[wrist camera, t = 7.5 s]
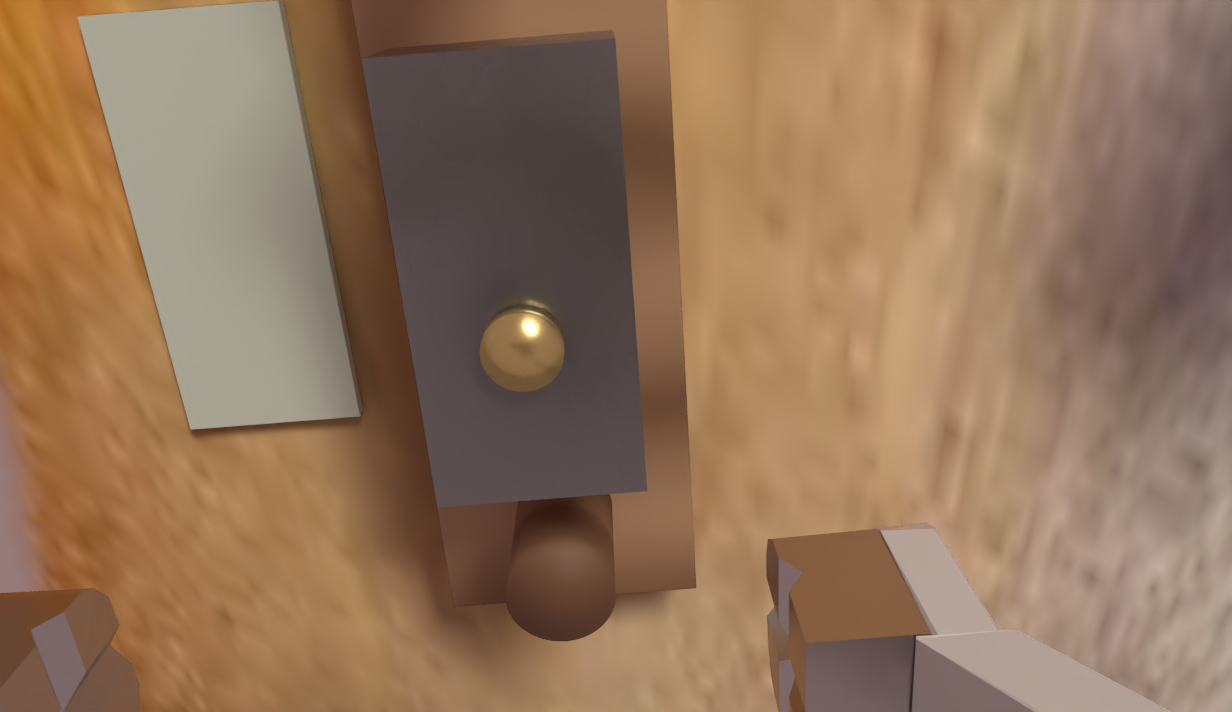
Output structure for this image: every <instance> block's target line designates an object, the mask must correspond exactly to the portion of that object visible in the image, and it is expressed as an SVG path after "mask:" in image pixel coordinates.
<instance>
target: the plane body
mask: <svg viewBox="0 0 1232 712" xmlns="http://www.w3.org/2000/svg"><path fill="white" fill-rule="evenodd" d="M351 4H352V9H353V15H354V21H355V27H356V33H357V39H358V45H359V51H360V57H361V63H362V58H364V57H367V56H370V55H372V54H375V53H377V52H380V51H383V50H385V49H388V48H395V47H408V46H420V45H433V44H445V43H458V42H470V41H483V40H495V39H508V38H520V37H532V36H545V35H557V34H570V33H582V32H595V31H607V30H613V33H614V36H615V41H616V55H617V70H618V84H619V98H620V112H621V126H622V140H623V154H624V168H625V182H626V196H627V210H628V224H629V238H630V252H631V266H632V281H633V295H634V309H635V323H636V337H637V351H638V365H639V379H640V393H641V407H642V421H643V435H644V449H645V463H646V478H647V491H644V492H631V493H618V494H605V495H592V496H579V497H566V498H553V499H540V500H527V501H515V502H502V503H489V504H476V505H463V506H450V507H437V511H438V516H439V522H440V528H441V534H442V540H443V546H444V552H445V558H446V564H447V569H448V575H449V581H450V587H451V593H452V599H453V605H454V607H456V606H469V605H482V604H495V603H506V604H507V607H508V610H509V613H510V614H511V616H512V618H513V619H514V620H515V622H516V623H517V624H518V625H519V626H520V627H521V628H523V629H524V630H525V631H527V632H529V633H530V634H532V635H534V636H537V637H539V638H542V639H546V640H551V641H570V640H575V639H580V638H582V637H585V636H587V635H589V634H591V633H593V632H595V631H596V630H598V629H599V628H600V627H601V626H602V625H603V624H604V623H605V622H606V621H607V619H608V618H609V617H610V615H611V613H612V611H613V608H614V605H615V594H626V593H639V592H652V591H665V590H678V589H691V588H696V573H695V553H694V533H693V514H692V494H691V474H690V455H689V435H688V415H687V396H686V376H685V356H684V337H683V317H682V297H681V278H680V258H679V238H678V219H677V199H676V179H675V160H674V140H673V120H672V100H671V81H670V61H669V41H668V22H667V2H666V0H351ZM362 68H363V65H362ZM363 74H364V71H363ZM364 80H365V77H364ZM365 86H366V83H365ZM366 92H367V89H366ZM367 98H368V95H367ZM368 104H369V100H368ZM369 110H370V106H369ZM370 116H371V112H370ZM371 121H372V118H371ZM372 127H373V124H372ZM373 133H374V130H373ZM374 139H375V136H374ZM375 145H376V142H375ZM376 151H377V148H376ZM377 157H378V154H377ZM378 163H379V160H378ZM379 169H380V165H379ZM380 175H381V171H380ZM381 180H382V177H381ZM382 186H383V183H382ZM383 192H384V189H383ZM384 198H385V195H384ZM385 204H386V201H385ZM386 210H387V207H386ZM387 216H388V213H387ZM388 222H389V219H388ZM389 228H390V224H389ZM390 233H391V230H390ZM391 239H392V236H391ZM392 245H393V242H392ZM393 251H394V248H393ZM394 257H395V254H394ZM395 263H396V260H395ZM396 269H397V266H396ZM397 275H398V272H397ZM398 281H399V278H398ZM399 287H400V283H399ZM400 292H401V289H400ZM401 298H402V295H401ZM402 304H403V301H402ZM403 310H404V307H403ZM404 316H405V313H404ZM405 322H406V319H405ZM406 328H407V325H406ZM407 334H408V331H407ZM408 340H409V337H408ZM409 345H410V342H409ZM410 351H411V348H410ZM411 357H412V354H411ZM412 363H413V360H412ZM413 369H414V366H413ZM414 375H415V372H414ZM415 381H416V378H415ZM416 387H417V384H416ZM417 393H418V390H417ZM418 399H419V396H418ZM419 404H420V402H419ZM420 410H421V407H420ZM421 416H422V413H421ZM422 422H423V419H422ZM423 428H424V425H423ZM424 434H425V431H424ZM425 440H426V437H425ZM426 446H427V443H426ZM427 452H428V449H427ZM428 457H429V455H428ZM429 463H430V461H429ZM430 469H431V466H430ZM431 475H432V472H431ZM432 481H433V478H432ZM433 487H434V484H433ZM434 493H435V490H434ZM435 499H436V496H435ZM436 505H437V502H436Z"/></svg>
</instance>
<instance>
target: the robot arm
mask: <svg viewBox="0 0 1232 712" xmlns="http://www.w3.org/2000/svg"><path fill="white" fill-rule="evenodd" d="M767 580H768V584H769V587H770V591H771V595H772V598H773V602H774V606H775V607H774V608H773V609H772V610H771V612H770V613H769V614H768V616H767V624H768V648H769V658H770V669H771V677H772V683H773V688H774V694H775V698H776V703H777V707H778V711H779V712H1171V711H1169V710H1167V709H1165V708H1163V707H1161V706H1160V705H1158V704H1156V703H1154V702H1152V701H1150V700H1148V699H1146V698H1144V697H1143V696H1141V695H1139V694H1137V693H1135V692H1133V691H1131V690H1129V689H1128V688H1126V687H1124V686H1122V685H1120V684H1118V683H1116V682H1114V681H1112V680H1111V679H1109V678H1107V677H1105V676H1103V675H1101V674H1099V673H1097V672H1096V671H1094V670H1092V669H1090V668H1088V667H1086V666H1084V665H1082V664H1080V663H1079V662H1077V661H1075V660H1073V659H1071V658H1069V657H1067V656H1065V655H1064V654H1062V653H1060V652H1058V651H1056V650H1054V649H1052V648H1050V647H1048V646H1047V645H1045V644H1043V643H1041V642H1039V641H1037V640H1035V639H1033V638H1032V637H1030V636H1028V635H1026V634H1024V633H1022V632H1020V631H1018V630H1016V629H1014V630H999V629H998V627H997V626H996V624H995V623H994V621H993V619H992V618H991V616H990V615H989V613H988V611H987V610H986V608H985V607H984V605H983V604H982V602H981V600H980V599H979V597H978V596H977V594H976V592H975V591H974V589H973V588H972V586H971V584H970V583H969V581H968V580H967V578H966V577H965V575H964V573H963V572H962V570H961V569H960V567H959V565H958V564H957V562H956V561H955V559H954V557H953V556H952V554H951V553H950V551H949V550H948V548H947V546H946V545H945V543H944V542H943V540H942V538H941V537H940V535H939V534H938V532H937V531H936V529H935V527H933V526H931V525H929V524H927V523H919V524H910V525H901V526H892V527H883V528H874V529H870V530H860V531H850V532H839V533H829V534H818V535H808V536H797V537H787V538H776V539H768V544H767ZM118 627H119V622H118V620H117V617H116V615H115V612H114V609H113V607H112V604H111V602H110V599H109V596H107V595H105V594H104V593H102V592H100V591H98V590H96V589H94V588H87V589H68V590H50V591H31V592H13V593H0V712H140V710H141V707H140V693H139V683H138V680H137V677H136V674H135V670H134V667H133V664H132V663H131V662H130V661H129V660H128V659H126V658H125V657H124V656H123V655H121V654H120V653H119V652H118V651H116V650H115V649H114V648H113V647H111V646H110V643H111V641H112V639H113V637H114V635H115V633H116V631H117V629H118Z"/></svg>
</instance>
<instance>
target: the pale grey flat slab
mask: <svg viewBox="0 0 1232 712" xmlns="http://www.w3.org/2000/svg"><path fill="white" fill-rule="evenodd" d="M78 21H79V25H80V28H81V32H82V36H83V39H84V43H85V46H86V50H87V54H88V57H89V61H90V65H91V68H92V72H93V76H94V79H95V83H96V87H97V90H98V94H99V97H100V101H101V105H102V108H103V112H104V116H105V119H106V123H107V127H108V130H109V134H110V138H111V141H112V145H113V148H114V152H115V156H116V159H117V163H118V167H119V170H120V174H121V178H122V181H123V185H124V189H125V192H126V196H127V200H128V203H129V207H130V210H131V214H132V218H133V221H134V225H135V229H136V232H137V236H138V240H139V243H140V247H141V251H142V254H143V258H144V261H145V265H146V269H147V272H148V276H149V280H150V283H151V287H152V291H153V294H154V298H155V302H156V305H157V309H158V312H159V316H160V320H161V323H162V327H163V331H164V334H165V338H166V342H167V345H168V349H169V353H170V356H171V360H172V363H173V367H174V371H175V374H176V378H177V382H178V385H179V389H180V393H181V396H182V400H183V404H184V407H185V411H186V415H187V418H188V422H189V425H190V429H191V430H192V429H205V428H218V427H230V426H243V425H256V424H269V423H282V422H295V421H308V420H321V419H333V418H346V417H359V416H361V414H362V412H363V407H362V402H361V396H360V391H359V386H358V381H357V376H356V371H355V366H354V361H353V355H352V350H351V345H350V340H349V335H348V330H347V325H346V320H345V314H344V309H343V304H342V299H341V294H340V289H339V284H338V279H337V273H336V268H335V263H334V258H333V253H332V248H331V243H330V238H329V232H328V227H327V222H326V217H325V212H324V207H323V202H322V197H321V191H320V186H319V181H318V176H317V171H316V166H315V161H314V156H313V151H312V145H311V140H310V135H309V130H308V125H307V120H306V115H305V110H304V104H303V99H302V94H301V89H300V84H299V79H298V74H297V69H296V63H295V58H294V53H293V48H292V43H291V38H290V33H289V28H288V22H287V17H286V12H285V7H284V2H283V0H278V1H265V2H253V3H241V4H228V5H216V6H203V7H191V8H179V9H166V10H154V11H141V12H129V13H116V14H104V15H92V16H80V17H78Z"/></svg>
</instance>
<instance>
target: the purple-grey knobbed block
mask: <svg viewBox="0 0 1232 712" xmlns="http://www.w3.org/2000/svg"><path fill="white" fill-rule="evenodd" d="M362 65H363V71H364V77H365V83H366V89H367V95H368V100H369V106H370V112H371V118H372V124H373V130H374V136H375V142H376V148H377V154H378V160H379V165H380V171H381V177H382V183H383V189H384V195H385V201H386V207H387V213H388V219H389V224H390V230H391V236H392V242H393V248H394V254H395V260H396V266H397V272H398V278H399V283H400V289H401V295H402V301H403V307H404V313H405V319H406V325H407V331H408V337H409V342H410V348H411V354H412V360H413V366H414V372H415V378H416V384H417V390H418V396H419V402H420V407H421V413H422V419H423V425H424V431H425V437H426V443H427V449H428V455H429V461H430V466H431V472H432V478H433V484H434V490H435V496H436V502H437V507H450V506H463V505H476V504H489V503H502V502H515V501H527V500H540V499H553V498H566V497H579V496H592V495H605V494H618V493H631V492H644V491H647V478H646V463H645V449H644V435H643V421H642V407H641V393H640V379H639V365H638V351H637V337H636V323H635V309H634V295H633V281H632V266H631V252H630V238H629V224H628V210H627V196H626V182H625V168H624V154H623V140H622V126H621V112H620V98H619V84H618V70H617V55H616V41H615V36H614V33H613V30H607V31H595V32H582V33H570V34H557V35H545V36H532V37H520V38H508V39H495V40H483V41H470V42H458V43H445V44H433V45H420V46H408V47H395V48H388V49H385V50H383V51H380V52H377V53H375V54H372V55H370V56H367V57H364V58H362Z"/></svg>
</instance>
